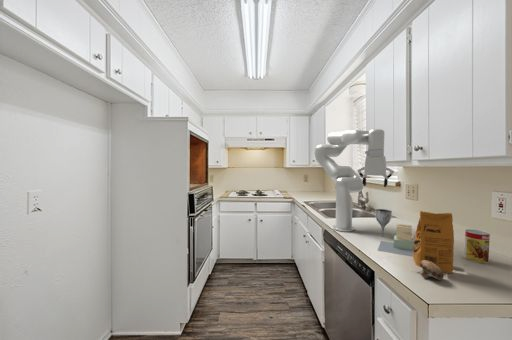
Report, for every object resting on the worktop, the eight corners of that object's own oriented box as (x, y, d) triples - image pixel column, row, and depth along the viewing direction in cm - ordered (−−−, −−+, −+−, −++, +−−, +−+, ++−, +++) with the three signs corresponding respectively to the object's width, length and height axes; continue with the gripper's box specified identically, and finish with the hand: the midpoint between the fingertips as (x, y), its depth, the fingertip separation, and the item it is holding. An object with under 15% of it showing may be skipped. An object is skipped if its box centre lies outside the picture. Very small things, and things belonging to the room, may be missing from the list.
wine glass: (386, 241, 135) (387, 212, 135) (371, 237, 142) (372, 209, 141) (393, 238, 140) (394, 210, 139) (379, 235, 146) (380, 208, 146)
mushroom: (412, 269, 92) (424, 255, 92) (413, 270, 98) (424, 257, 98) (436, 286, 87) (448, 272, 87) (435, 287, 93) (446, 273, 93)
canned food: (489, 264, 105) (490, 235, 105) (464, 260, 110) (465, 232, 110) (487, 259, 112) (488, 231, 111) (463, 254, 116) (465, 228, 116)
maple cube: (396, 235, 127) (397, 223, 127) (411, 237, 124) (411, 225, 124) (396, 238, 122) (396, 226, 122) (411, 241, 119) (411, 228, 119)
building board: (380, 242, 132) (380, 240, 132) (415, 248, 125) (415, 246, 125) (377, 252, 118) (377, 250, 118) (416, 259, 110) (416, 257, 110)
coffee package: (411, 260, 108) (413, 208, 108) (447, 265, 104) (449, 211, 103) (415, 269, 99) (417, 212, 98) (455, 275, 94) (457, 215, 94)
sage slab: (394, 243, 129) (394, 235, 129) (413, 245, 125) (413, 237, 125) (393, 247, 122) (393, 239, 122) (413, 250, 118) (413, 242, 118)
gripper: (356, 153, 136) (355, 185, 137) (394, 153, 128) (393, 188, 128) (359, 153, 143) (358, 184, 143) (394, 153, 134) (393, 186, 135)
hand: (374, 186), depth 136 cm, fingers open, 9 cm apart
